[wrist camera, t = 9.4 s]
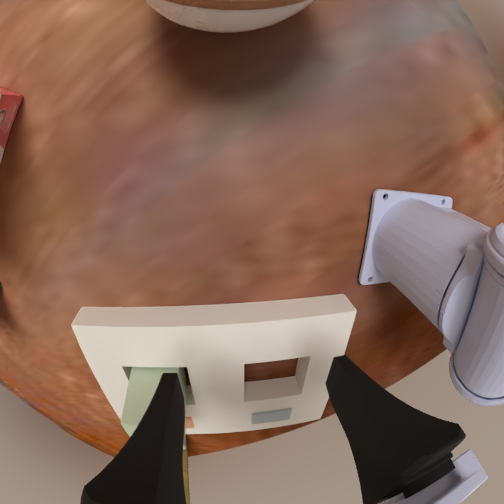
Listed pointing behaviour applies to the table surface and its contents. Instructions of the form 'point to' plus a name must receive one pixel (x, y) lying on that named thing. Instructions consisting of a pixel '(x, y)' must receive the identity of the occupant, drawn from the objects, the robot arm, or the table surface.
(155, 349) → the slot board
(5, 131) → the ink cartridge box
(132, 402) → the peg
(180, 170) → the table surface
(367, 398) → the robot arm
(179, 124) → the table surface
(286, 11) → the lidded jar
